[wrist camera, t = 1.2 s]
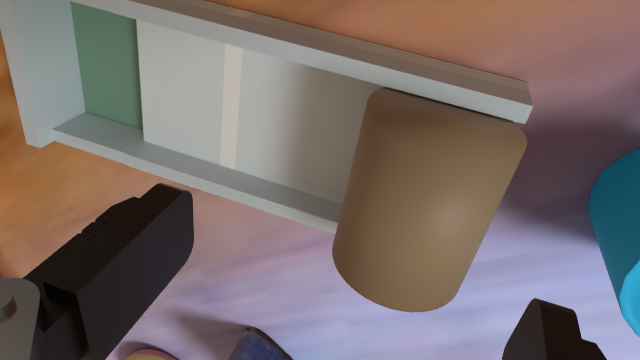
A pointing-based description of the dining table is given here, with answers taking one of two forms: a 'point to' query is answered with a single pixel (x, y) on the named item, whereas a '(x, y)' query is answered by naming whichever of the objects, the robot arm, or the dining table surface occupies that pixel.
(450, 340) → the dining table surface
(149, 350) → the donut
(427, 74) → the lane
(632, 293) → the mug
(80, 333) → the robot arm
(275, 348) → the flask
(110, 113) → the pit mat
